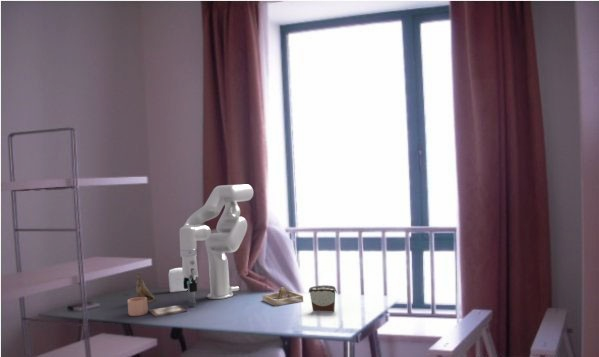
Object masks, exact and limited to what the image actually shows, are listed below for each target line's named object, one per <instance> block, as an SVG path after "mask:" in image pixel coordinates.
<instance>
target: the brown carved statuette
mask: <svg viewBox="0 0 599 357" xmlns="http://www.w3.org/2000/svg"><path fill="white" fill-rule="evenodd" d="M136 277H137V279H136V286H135V293H136V296H137V297H146V298H147V304H148V303H151V302H155V301H156V297H155V296H154V294H152V293H151V291H150V290H149V289H148V287H147V286H146V284H145V282H144V280H143V279H142V278H141V275H140V273H137V274H136Z"/></svg>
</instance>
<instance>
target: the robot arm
mask: <svg viewBox="0 0 599 357" xmlns="http://www.w3.org/2000/svg"><path fill="white" fill-rule="evenodd" d="M252 198H254V189H253V187H252V186H251V185H250V184H248V183H247V184H226V185H225V184H224V185H218V186H216V187H214V188H213V190H212V191H211V193H210V195H209V197H208V198H207V200H206V202H205V203H204V205H203V206H202V207H200V208H198V210H196V211H195V212H193V213H192V214H191V215H190V216H189V217H188V218H187V220H186V221H185V223H184V224H183V226H182V227H180V228H179V248H180V251H179V252H180V255H179V256H180V258H182V261H181V262H182V264H181V265H182V266H181V268H182V272H183V276H184V277H183V280H184V281H183V283H184V289H188V285H187V281H190V283H189V286H190V292H195V293H196V292H197V291H198V286H197V284H198V283H197V278H199V272H198V270H199V268H198V259H197V257H198V249H197V248H198V246H197V244H198V243H197V241H198V242H199V241H201V242H202V241H204V242H205V249H206V253H207V259H208V272H209V275H208V276H209V288H210V293H208V294H207V298H208V299H211V300H219V299H220V300H222V299H223V300H224V299H227V298H231V297H233V296H234V292H235V291H236V292H237V291H240V287H239V286H231V285H230V272H229V260H228V257H227V255H226V253H235V252H236V251H238V249H239V248H240V246H241V244H242V242H243V240H244V238H245V236H246V233H247V232H248V231H247V230H248V221H247V219H246V218H245V217H243V216H240V215H241V209H240V206H239V205H238V202H239V203H240V202H246V201H247V202H248V201H251V199H252ZM223 208H224V210H223V211H222V209H223ZM221 211H222V214H221V216H219V215H220V213H221ZM218 216H219V220H218V221H217V224H216V231H217V232H214V233H212V230H211V228H210V226H208V225H206V224H203V223H205V222H207V221H210V220H212V219H215V218H217V217H218Z"/></svg>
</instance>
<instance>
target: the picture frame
mask: <svg viewBox="0 0 599 357" xmlns="http://www.w3.org/2000/svg"><path fill="white" fill-rule="evenodd" d="M148 312H149V313H150V314H151V315H152V316H153V317H155V318H157V317H162V316H168V315H169V316H170V315H175V314H180V313H186V312H187V310H186V309H185V308H184V307H183V306H181V305H180V304H177V305H176V304H175V305H171V306H163V307H159V308H152V309H148Z"/></svg>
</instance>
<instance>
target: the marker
mask: <svg viewBox="0 0 599 357" xmlns="http://www.w3.org/2000/svg"><path fill="white" fill-rule="evenodd" d="M189 283H190V281H187V285H188V291H187V297H188V305H189V308H196V292H190V286H189Z"/></svg>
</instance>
